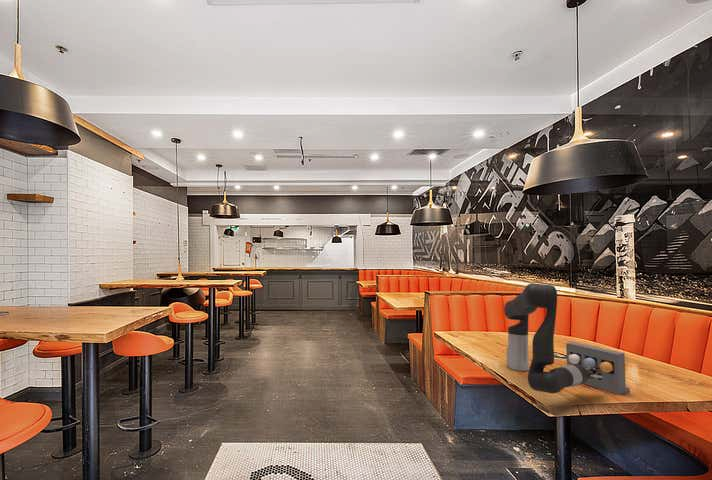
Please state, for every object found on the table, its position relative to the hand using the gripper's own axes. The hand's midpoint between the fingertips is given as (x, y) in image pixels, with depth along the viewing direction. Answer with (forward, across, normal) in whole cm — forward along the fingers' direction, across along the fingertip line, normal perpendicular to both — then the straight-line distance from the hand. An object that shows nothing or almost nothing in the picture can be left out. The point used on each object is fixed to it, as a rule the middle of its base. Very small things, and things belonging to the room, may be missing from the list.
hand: (597, 369), depth 140 cm
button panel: (+11, +7, +10) cm, 16 cm away
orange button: (+7, 0, +2) cm, 7 cm away
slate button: (+7, +6, +2) cm, 9 cm away
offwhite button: (+7, +13, +2) cm, 15 cm away
